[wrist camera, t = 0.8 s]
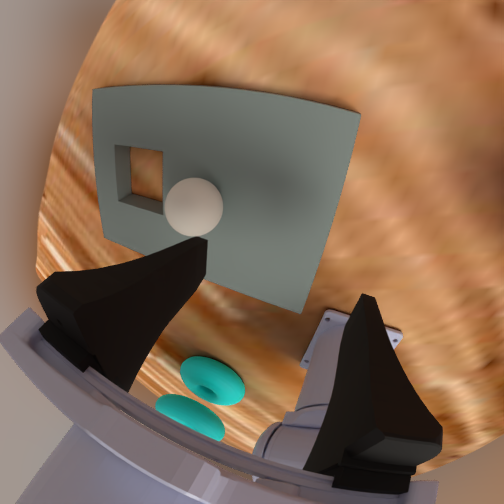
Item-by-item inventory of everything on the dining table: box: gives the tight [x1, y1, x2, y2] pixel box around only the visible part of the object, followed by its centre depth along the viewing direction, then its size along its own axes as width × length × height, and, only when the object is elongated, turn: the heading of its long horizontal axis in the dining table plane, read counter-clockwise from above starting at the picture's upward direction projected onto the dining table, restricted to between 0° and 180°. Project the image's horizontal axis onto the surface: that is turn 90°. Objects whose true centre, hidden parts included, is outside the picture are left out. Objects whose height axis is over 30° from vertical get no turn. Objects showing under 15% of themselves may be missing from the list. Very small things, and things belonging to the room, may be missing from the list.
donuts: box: [155, 356, 245, 441], centre depth 34 cm, size 10×10×10 cm
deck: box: [92, 84, 361, 314], centre depth 21 cm, size 16×22×2 cm
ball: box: [165, 178, 223, 236], centre depth 18 cm, size 4×4×4 cm
